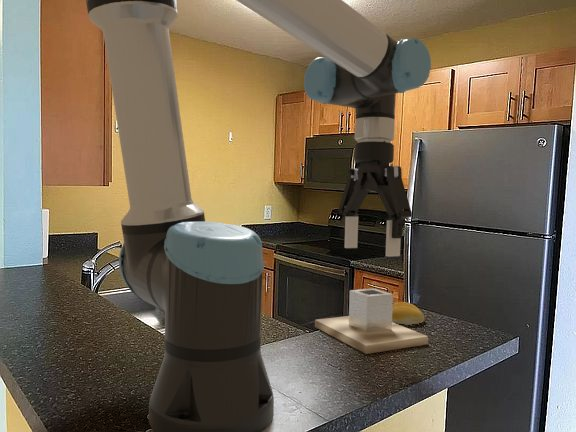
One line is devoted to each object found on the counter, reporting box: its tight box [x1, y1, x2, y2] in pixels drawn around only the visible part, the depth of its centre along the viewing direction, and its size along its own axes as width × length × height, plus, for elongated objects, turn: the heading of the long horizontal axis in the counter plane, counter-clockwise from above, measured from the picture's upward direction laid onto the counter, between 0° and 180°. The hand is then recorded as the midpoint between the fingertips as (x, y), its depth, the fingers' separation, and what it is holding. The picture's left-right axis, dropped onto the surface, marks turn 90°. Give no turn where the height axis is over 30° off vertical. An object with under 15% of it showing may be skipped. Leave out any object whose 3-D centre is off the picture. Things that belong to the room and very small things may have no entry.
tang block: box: [314, 315, 429, 355], centre depth 93 cm, size 18×14×6 cm
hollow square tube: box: [348, 287, 394, 333], centre depth 93 cm, size 6×6×7 cm
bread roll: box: [392, 301, 425, 326], centre depth 105 cm, size 8×9×4 cm
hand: (370, 251), depth 93 cm, fingers open, 13 cm apart
